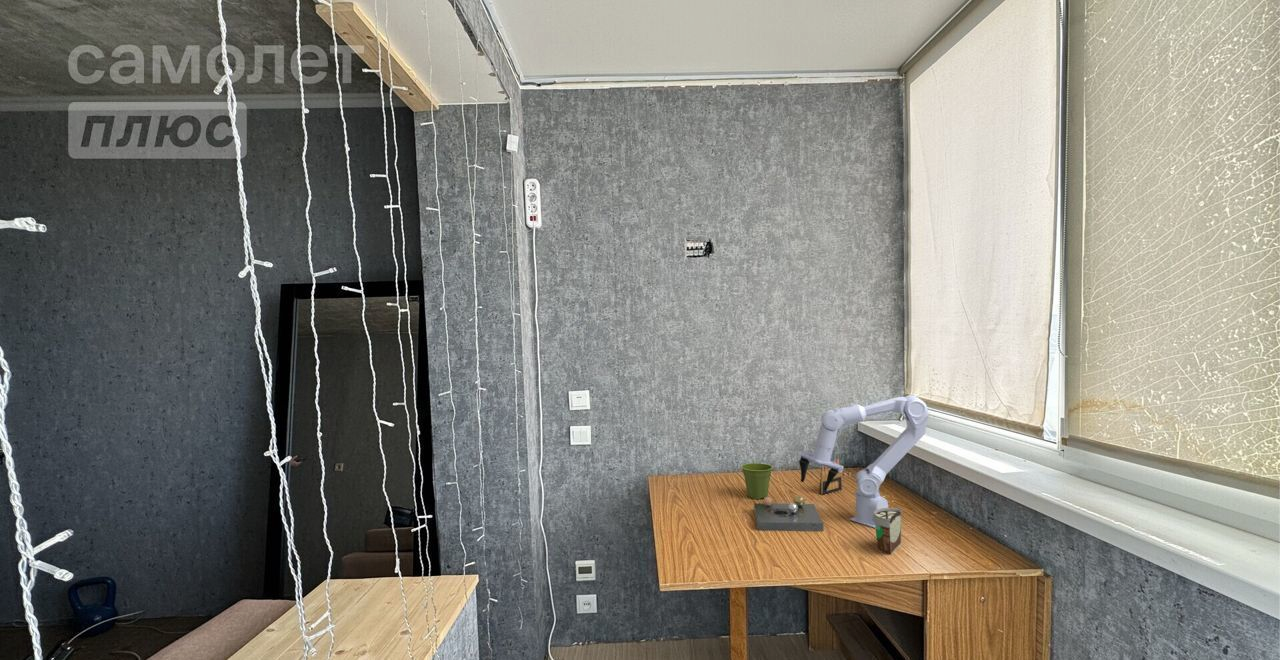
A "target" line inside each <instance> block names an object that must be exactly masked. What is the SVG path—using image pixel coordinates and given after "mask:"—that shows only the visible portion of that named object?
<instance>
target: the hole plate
mask: <svg viewBox="0 0 1280 660" xmlns="http://www.w3.org/2000/svg"><path fill="white" fill-rule="evenodd" d="M789 504H790V503H772V504H771V505H770V506H766V505H765V504H764V502H763V503H762V502H761V503H758V502H757V503H753V506H754V507H753V509H754V510H753V511H754V516H755V521H756V527H757V531H764V532H765V531H769V532H771V531H772V532H773V531H779V532H780V531H781V532H783V531H784V532H824V531H825V529H824V528H825V527H824V522H823V520H822V517H821V516H820V514H819V511H818V510H817V508H816V506H815V504H814V503H804V505H803V506H798V511H797V512H796V513H791V512H790V511H789V510H788V505H789Z"/></svg>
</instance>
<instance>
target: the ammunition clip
mask: <svg viewBox="0 0 1280 660" xmlns="http://www.w3.org/2000/svg"><path fill="white" fill-rule="evenodd" d="M830 461H832V462H834V463H837V464H839V465H840V461H839V458H836V459H833V460H832V459H830ZM829 470H830V468H827V467H824V466H822V465H820V480H819V494H820V495H821V494H822V496H826V495H825V494H827V495H830V494H833V493H835V492H836V491H837V492H840V491H842V490H843V488H842V476H841V473H840V472H838V473H837V475H836V476H835V477H834V478H833V480H832V481H831V483H830V484H829V486H828V489H827V490H826V491H825V490H824V487H825V484H826V481H827V477H828V472H829ZM839 490H840V491H839ZM832 492H833V493H832ZM829 493H830V494H829Z"/></svg>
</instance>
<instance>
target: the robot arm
mask: <svg viewBox="0 0 1280 660" xmlns="http://www.w3.org/2000/svg"><path fill="white" fill-rule="evenodd" d="M891 412H893V413H896V414H900V415H904V416H905V422H906V428H905V429H904V430H903V431H902V432H901V433H900V434H899V435H898V437H896V439H894V441H893V442H892V443H891V444H890V445H889V446H888V447H887V448H886V449H885V450H884V451H883V453H881V455H879V457H878V458H877V459H875V461H874V462H872V463H870V464H869V465H867V467H865V468H864V469H861V470H859V471H858V472H857V473H856V474H855V482H856V485H857V489H856V490H855V493H854V494H855V516H854V517H850V518H849V520H850V521H852V522H855V523H858V524H861V525H864V526H867V527H870V528H874V529H876V527H875V523H874V522H873V520H872V518H873V514H874V512H875V511H876V510H878V509H882V508H889V502H888V499H886V498H885V497H883V496H882V495H881V494H880V491H879V490H880V486H881V485H882V483H884V480H885V478H886V476H887V475H888V474H889V473H890V472H891V470H892V469H893V468H894V467H895V466H896V465H897V464H898V463H899V462H900V461H901V460H902V459H903V458H904V456H906V454H907V453H908V452H910V450H911V449H912V448H913V447H914V446H915V445H916V444H917V443H918V442H919V441H920V440H921V439H922V438H923V437H924V435H925V434H926V433H927V432H926V430H927V425H928V419H929V415H930V413H929V408H928V406H927V404H926V402H925V401H923V399H920V397H918V396H917V395H914V394H909V395H906V396H898V397H893V398H890V399H885V400H882V401H878V402H876V403H872V404H869V405H864V406H862V405H860V404H858V403H856V404H855V403H850V404H849V405H848V406H844V407H840V408H839V407H835V408H834V410H833V409H829V410H826V411H825V412H824V413H822V415H821V425H819V426H820V427H819V428H820V429H819V430H818V433H817V437H816V440H815V445H814V448H813V451H812V453H808V452H804V451H801V450H800V451H798V453H797V458H798V459H800V460H799V461H798V462H799V467H800V483H801V482H802V483H804V482H805V480H806V475H807V471H808V468H809V464H810V462H811V463H813V464H815V465H818V466H821V465H822V466H824V467H827V468H830V470H829V472H828V477H827V481H826V484H825V487H824V490H825V491H826V490H827V489H828V486H829V484H830V483H831V481H832V480H833V478H834V477H835V476H836V475H837V473H838V472H840V474H842V473H843V471H844V465H841V464H840V463H839V464H837V463H834V462H833V460H832V454H833V452H834V448H835V444H836V440H837V434H838V430H839V429H840V428H841V426H842V427H845V426H850V425H855V424H858V423H862V422H864V421H865V419H866V418H867V417H872V416H877V415H881V414H885V413H891ZM831 460H832V461H831Z"/></svg>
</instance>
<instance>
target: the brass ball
mask: <svg viewBox="0 0 1280 660" xmlns="http://www.w3.org/2000/svg"><path fill="white" fill-rule="evenodd" d="M793 503H795V504H796V505H797V506H803V505H804V504H806V500H805V497H804V496H802V495H799V494H798V495H795V497H794V498H793Z"/></svg>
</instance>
